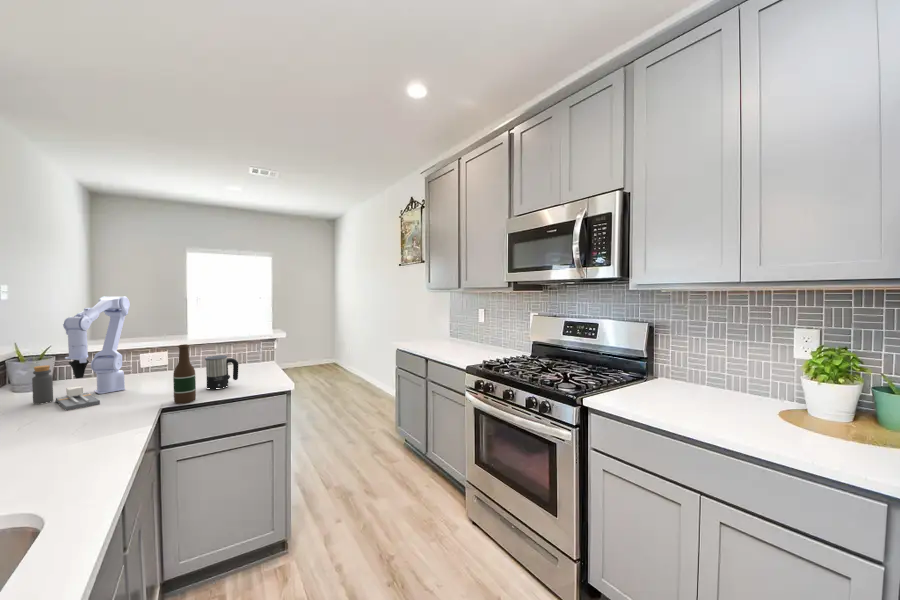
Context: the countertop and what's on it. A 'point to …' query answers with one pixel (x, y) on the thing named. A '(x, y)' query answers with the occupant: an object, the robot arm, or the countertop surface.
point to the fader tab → (74, 391)
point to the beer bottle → (184, 378)
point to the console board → (77, 401)
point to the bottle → (42, 385)
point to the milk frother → (219, 371)
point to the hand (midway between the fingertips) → (79, 377)
